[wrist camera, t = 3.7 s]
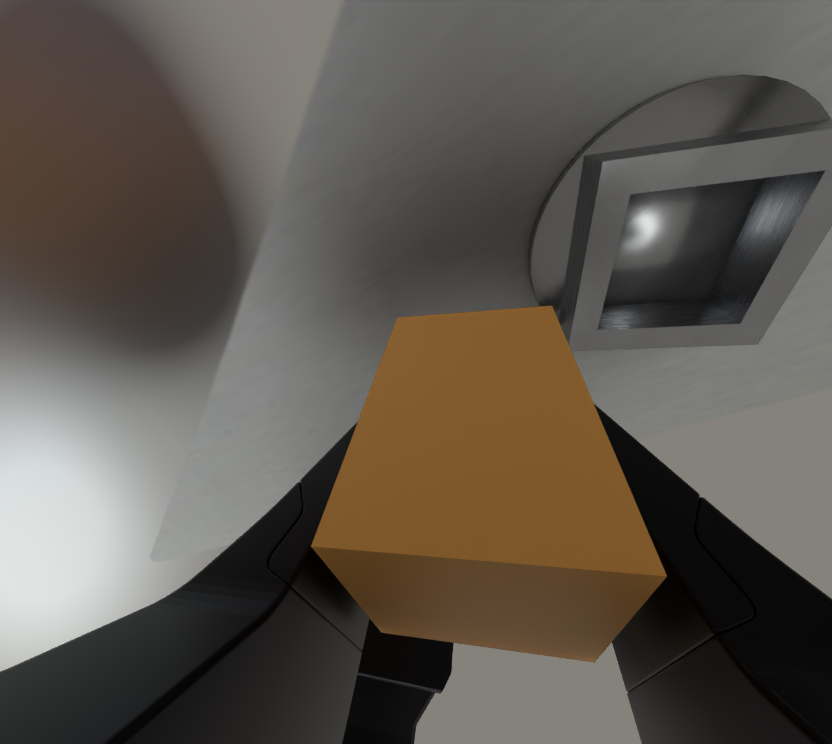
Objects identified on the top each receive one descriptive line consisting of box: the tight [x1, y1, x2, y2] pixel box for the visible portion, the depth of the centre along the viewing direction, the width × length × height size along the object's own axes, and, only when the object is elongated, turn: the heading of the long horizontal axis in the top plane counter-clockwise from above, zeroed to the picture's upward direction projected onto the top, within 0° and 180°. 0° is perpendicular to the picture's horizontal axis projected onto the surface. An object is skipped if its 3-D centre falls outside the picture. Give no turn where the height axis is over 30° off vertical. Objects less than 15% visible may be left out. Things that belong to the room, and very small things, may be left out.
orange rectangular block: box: [311, 306, 667, 662], centre depth 7 cm, size 4×4×6 cm
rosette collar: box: [529, 75, 832, 351], centre depth 14 cm, size 12×12×3 cm
